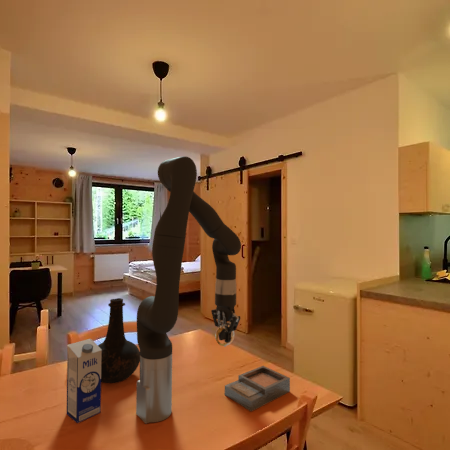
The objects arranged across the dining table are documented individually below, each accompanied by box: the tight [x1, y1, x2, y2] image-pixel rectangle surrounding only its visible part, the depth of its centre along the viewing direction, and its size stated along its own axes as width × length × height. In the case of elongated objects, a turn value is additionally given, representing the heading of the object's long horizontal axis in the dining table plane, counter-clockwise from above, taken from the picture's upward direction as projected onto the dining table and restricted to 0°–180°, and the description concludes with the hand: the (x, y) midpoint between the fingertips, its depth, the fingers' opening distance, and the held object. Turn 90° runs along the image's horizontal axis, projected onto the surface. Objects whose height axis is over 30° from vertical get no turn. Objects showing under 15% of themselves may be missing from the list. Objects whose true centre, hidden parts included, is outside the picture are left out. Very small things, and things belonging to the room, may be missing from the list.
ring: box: [214, 323, 236, 347], centre depth 111 cm, size 7×3×8 cm, turn 108°
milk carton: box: [66, 338, 102, 424], centre depth 91 cm, size 7×7×20 cm
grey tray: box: [224, 365, 291, 412], centre depth 103 cm, size 18×12×4 cm, turn 130°
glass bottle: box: [97, 297, 140, 384], centre depth 113 cm, size 18×18×28 cm
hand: (224, 340), depth 111 cm, fingers closed on ring, 2 cm apart
